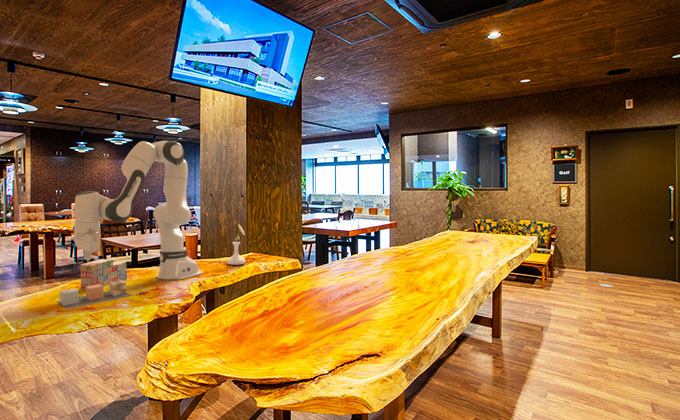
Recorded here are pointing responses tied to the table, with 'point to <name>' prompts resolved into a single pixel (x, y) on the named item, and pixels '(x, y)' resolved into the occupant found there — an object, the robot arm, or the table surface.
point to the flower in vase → (236, 251)
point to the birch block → (117, 287)
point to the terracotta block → (94, 292)
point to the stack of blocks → (102, 272)
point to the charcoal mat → (85, 301)
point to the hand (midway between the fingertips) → (87, 259)
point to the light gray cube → (69, 296)
